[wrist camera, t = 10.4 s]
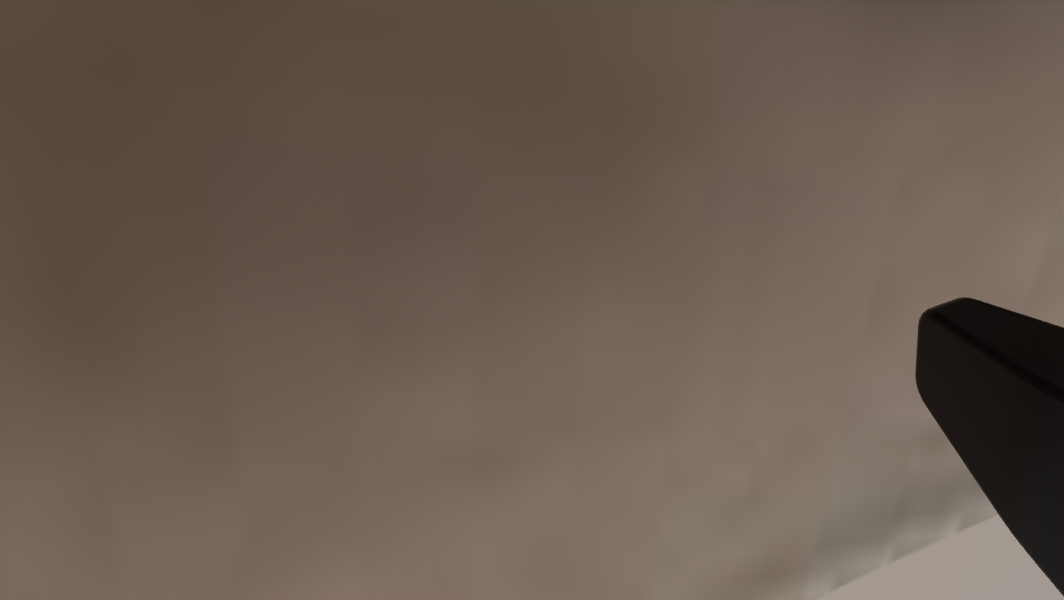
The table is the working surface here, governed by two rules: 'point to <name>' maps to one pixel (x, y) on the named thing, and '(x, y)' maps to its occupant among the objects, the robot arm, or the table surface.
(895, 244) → the table surface
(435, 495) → the table surface
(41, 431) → the table surface
